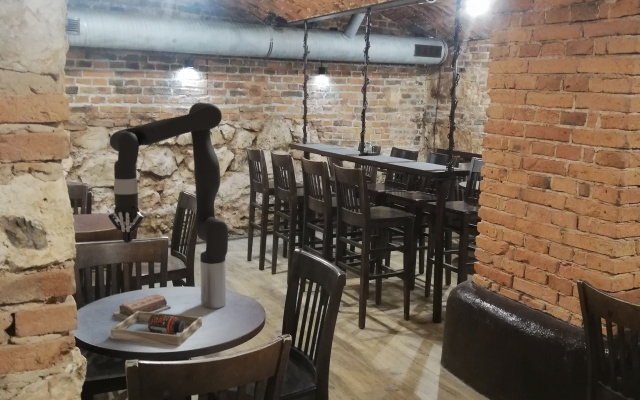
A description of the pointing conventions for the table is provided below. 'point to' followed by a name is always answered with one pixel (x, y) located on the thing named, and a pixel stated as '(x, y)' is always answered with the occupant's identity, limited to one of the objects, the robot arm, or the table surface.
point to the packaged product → (142, 306)
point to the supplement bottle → (165, 324)
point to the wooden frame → (124, 334)
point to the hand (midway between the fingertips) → (127, 242)
